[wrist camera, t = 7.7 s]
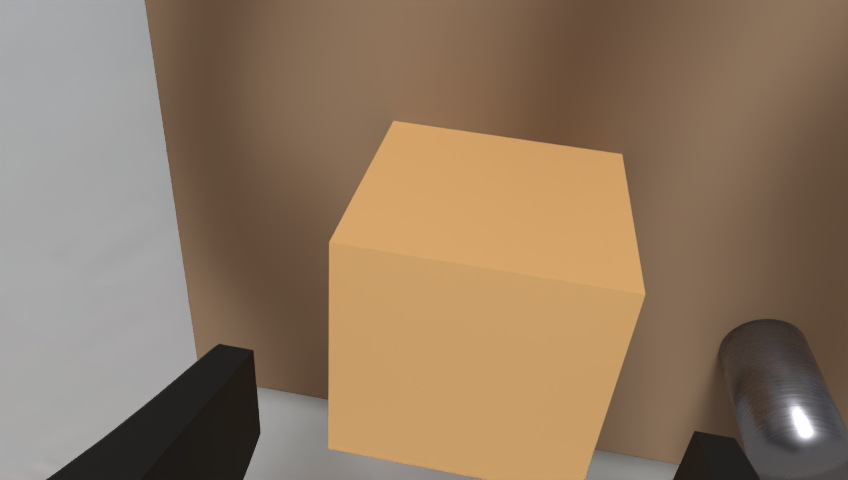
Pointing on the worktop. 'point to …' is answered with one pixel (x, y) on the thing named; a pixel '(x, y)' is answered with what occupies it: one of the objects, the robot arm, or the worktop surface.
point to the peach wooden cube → (481, 304)
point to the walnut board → (535, 121)
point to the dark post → (783, 403)
